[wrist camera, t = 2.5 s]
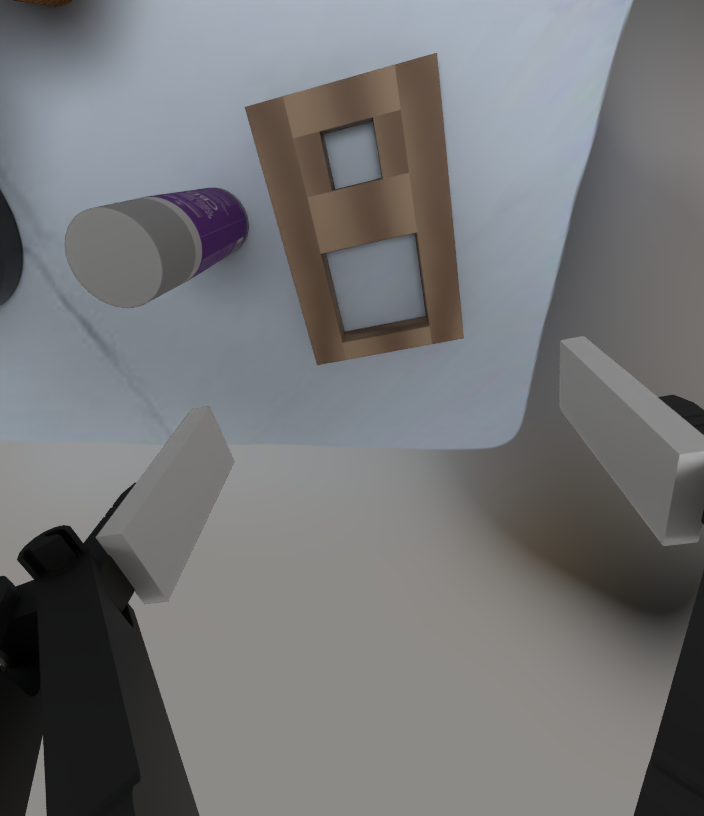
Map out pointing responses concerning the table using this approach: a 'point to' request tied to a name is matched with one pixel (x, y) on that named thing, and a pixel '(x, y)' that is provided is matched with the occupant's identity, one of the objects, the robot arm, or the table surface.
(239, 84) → the table surface
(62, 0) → the disposable coffee cup
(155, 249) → the container
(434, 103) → the socket board
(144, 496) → the robot arm
